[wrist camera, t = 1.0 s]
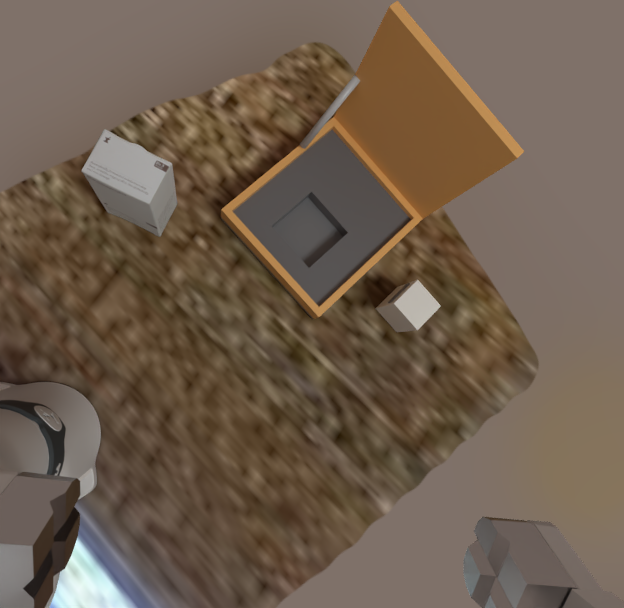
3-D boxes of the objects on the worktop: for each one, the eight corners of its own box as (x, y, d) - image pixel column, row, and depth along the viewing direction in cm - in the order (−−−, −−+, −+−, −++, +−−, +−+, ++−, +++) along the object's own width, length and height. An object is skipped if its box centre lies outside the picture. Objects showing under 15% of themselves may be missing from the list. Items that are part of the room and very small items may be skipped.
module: (396, 332, 70) (417, 330, 63) (374, 307, 70) (392, 302, 63) (417, 310, 71) (440, 306, 64) (396, 286, 71) (416, 278, 64)
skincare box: (106, 212, 63) (73, 171, 49) (126, 175, 64) (100, 124, 50) (163, 238, 64) (147, 206, 50) (182, 202, 66) (172, 160, 51)
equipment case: (312, 319, 68) (371, 300, 42) (220, 218, 66) (223, 135, 41) (415, 222, 73) (524, 151, 47) (332, 126, 71) (397, 0, 46)
